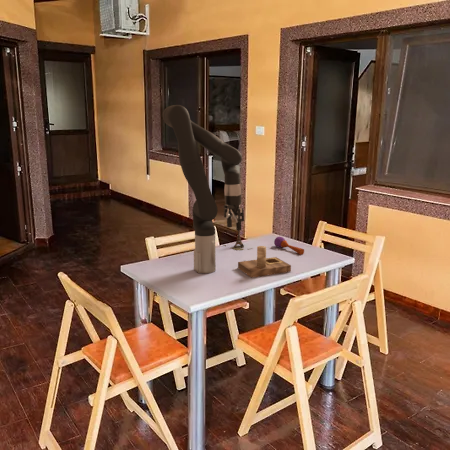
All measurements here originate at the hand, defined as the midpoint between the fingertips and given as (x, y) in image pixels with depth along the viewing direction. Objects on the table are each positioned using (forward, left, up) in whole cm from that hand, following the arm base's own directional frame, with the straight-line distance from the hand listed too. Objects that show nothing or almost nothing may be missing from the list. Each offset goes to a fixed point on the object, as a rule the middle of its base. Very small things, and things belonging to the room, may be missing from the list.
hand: (234, 228), depth 220 cm
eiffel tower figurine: (+16, +30, -19) cm, 39 cm away
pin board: (+11, -10, -18) cm, 23 cm away
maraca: (+38, +14, -19) cm, 45 cm away
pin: (+8, -13, -15) cm, 21 cm away
